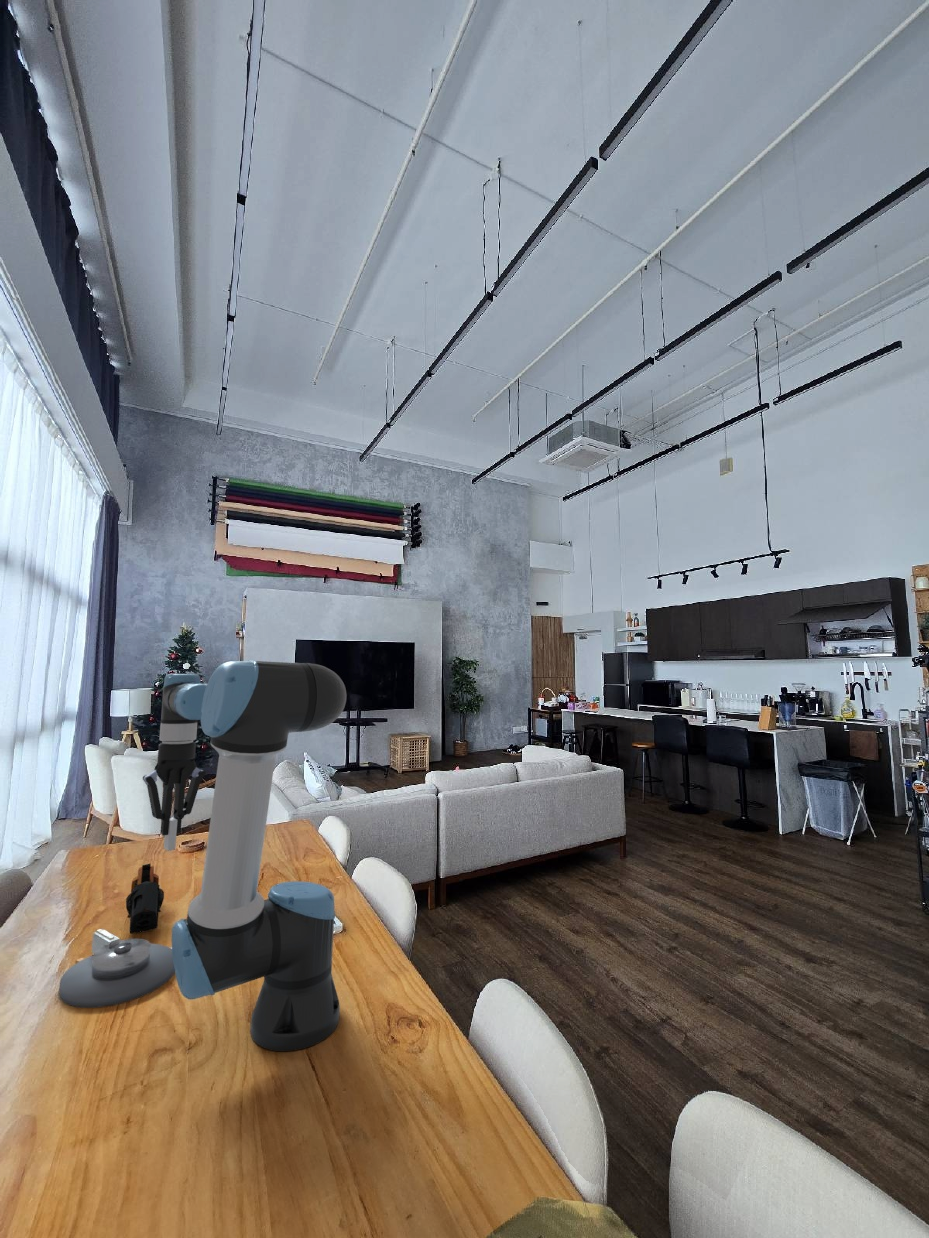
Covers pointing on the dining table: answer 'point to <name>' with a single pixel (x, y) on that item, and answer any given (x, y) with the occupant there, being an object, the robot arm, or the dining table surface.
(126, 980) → the dial plate
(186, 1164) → the dining table surface
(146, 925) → the tool
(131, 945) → the dial
